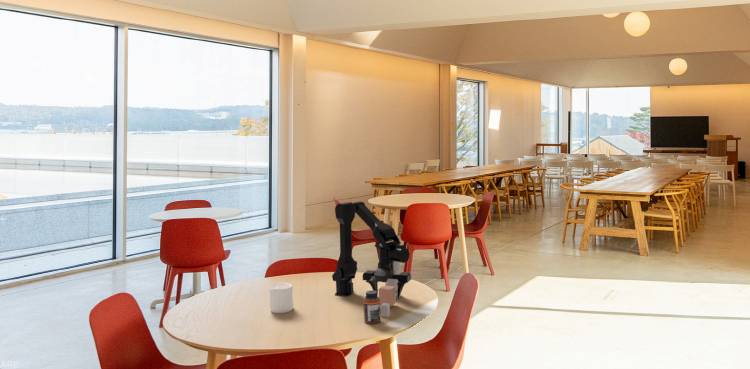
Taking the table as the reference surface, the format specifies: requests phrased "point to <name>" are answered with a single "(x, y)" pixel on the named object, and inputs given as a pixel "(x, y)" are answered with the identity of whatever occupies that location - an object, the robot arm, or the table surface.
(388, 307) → the white block
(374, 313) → the supplement bottle
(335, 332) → the table surface
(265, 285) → the table surface
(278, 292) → the cup
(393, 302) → the pink foam cube
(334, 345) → the table surface
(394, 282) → the travel mug
